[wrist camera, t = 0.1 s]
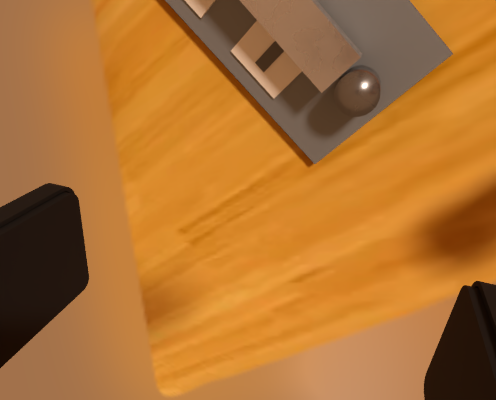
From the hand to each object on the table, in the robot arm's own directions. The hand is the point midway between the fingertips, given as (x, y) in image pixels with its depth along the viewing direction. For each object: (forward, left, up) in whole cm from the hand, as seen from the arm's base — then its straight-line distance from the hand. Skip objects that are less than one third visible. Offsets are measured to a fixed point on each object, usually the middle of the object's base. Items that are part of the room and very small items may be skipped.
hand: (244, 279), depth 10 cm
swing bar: (-1, -9, -30) cm, 31 cm away
